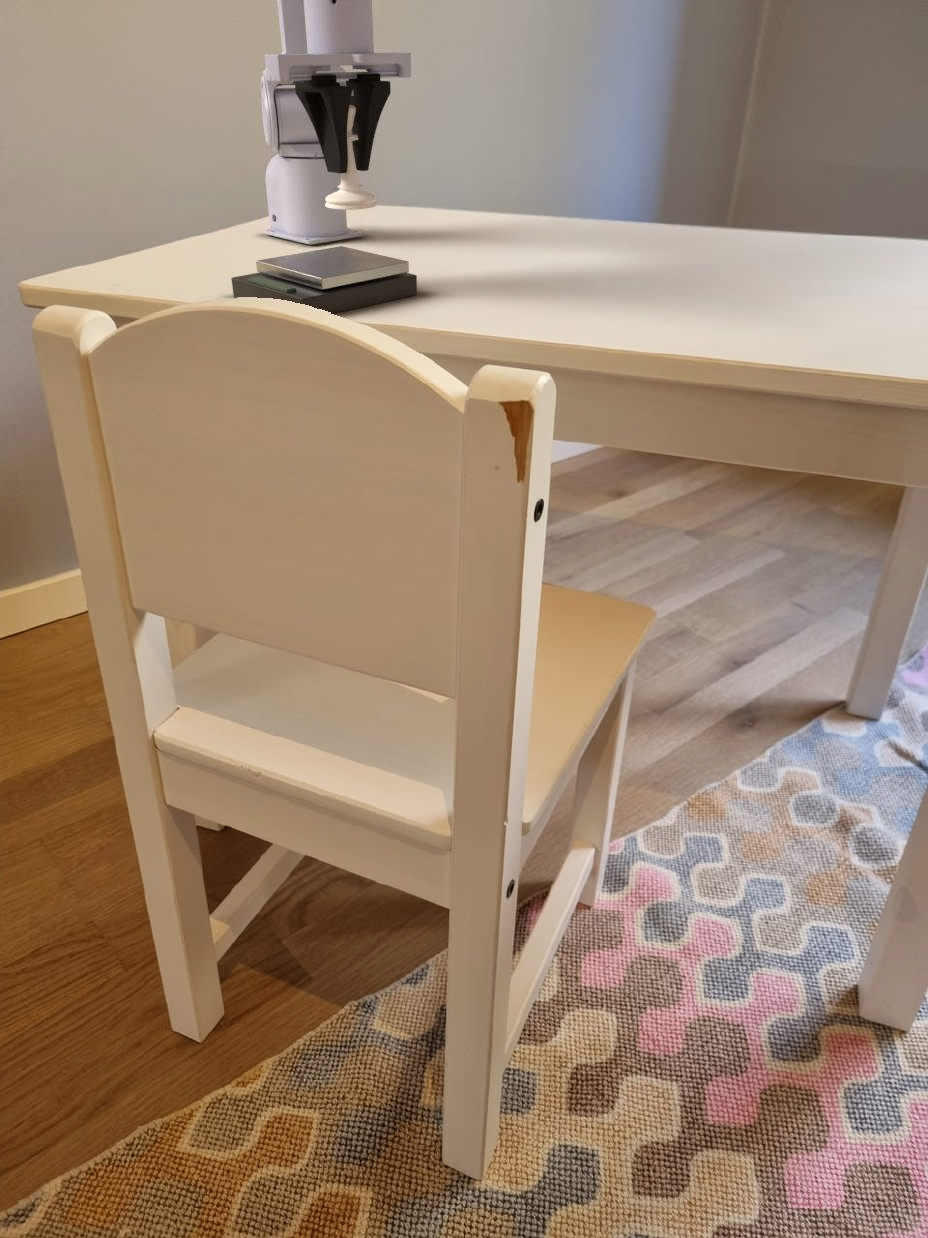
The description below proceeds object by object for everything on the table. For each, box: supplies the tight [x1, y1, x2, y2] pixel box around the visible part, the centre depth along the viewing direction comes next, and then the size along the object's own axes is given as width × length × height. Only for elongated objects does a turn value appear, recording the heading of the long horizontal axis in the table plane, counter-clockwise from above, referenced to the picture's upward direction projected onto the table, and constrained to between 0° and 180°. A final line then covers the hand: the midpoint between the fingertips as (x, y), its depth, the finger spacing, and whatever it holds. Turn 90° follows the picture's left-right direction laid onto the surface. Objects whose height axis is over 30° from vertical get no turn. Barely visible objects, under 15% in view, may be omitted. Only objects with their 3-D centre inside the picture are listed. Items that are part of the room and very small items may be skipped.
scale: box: [230, 272, 418, 314], centre depth 85 cm, size 11×13×2 cm
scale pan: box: [255, 245, 410, 290], centre depth 85 cm, size 10×10×1 cm
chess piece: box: [325, 82, 379, 211], centre depth 83 cm, size 5×5×10 cm
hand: (347, 171), depth 85 cm, fingers closed on chess piece
